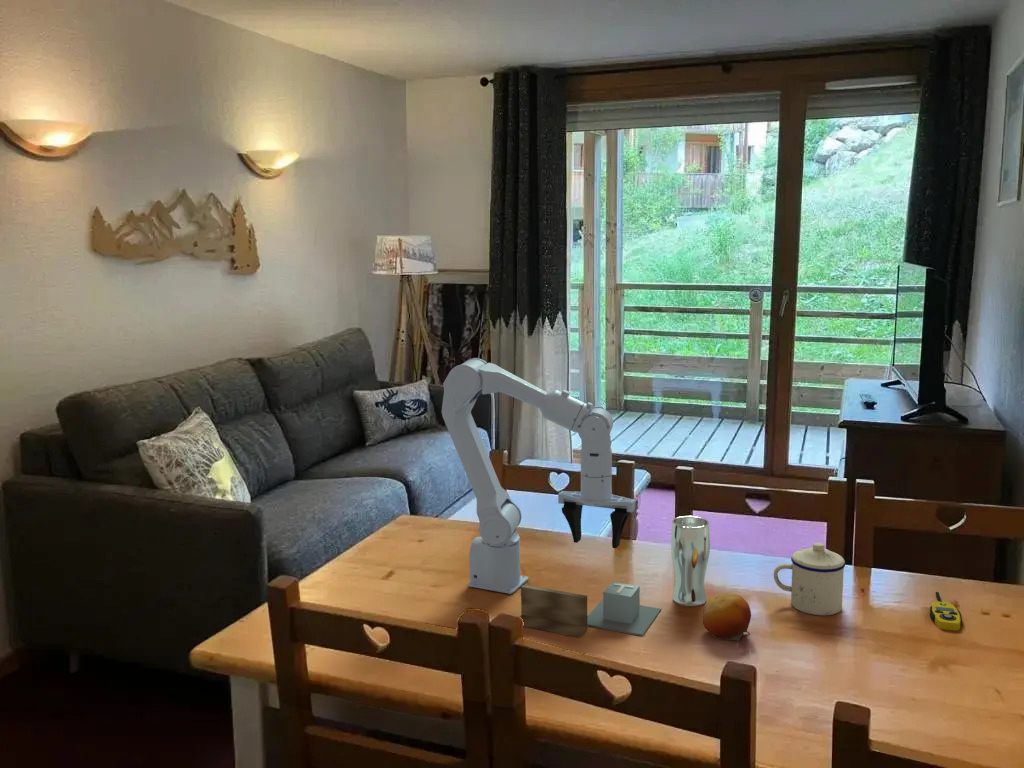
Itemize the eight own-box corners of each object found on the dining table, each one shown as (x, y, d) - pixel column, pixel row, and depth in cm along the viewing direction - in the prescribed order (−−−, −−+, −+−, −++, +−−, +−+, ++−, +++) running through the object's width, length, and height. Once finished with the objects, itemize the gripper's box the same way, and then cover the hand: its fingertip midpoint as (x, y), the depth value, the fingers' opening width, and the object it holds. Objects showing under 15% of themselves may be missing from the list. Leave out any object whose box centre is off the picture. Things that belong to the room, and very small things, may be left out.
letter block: (603, 619, 150) (603, 591, 149) (612, 607, 155) (612, 580, 154) (630, 624, 148) (630, 595, 147) (639, 612, 153) (639, 584, 152)
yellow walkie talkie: (934, 619, 145) (922, 585, 159) (933, 630, 145) (922, 594, 159) (966, 623, 143) (951, 587, 157) (965, 634, 144) (951, 597, 158)
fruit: (754, 643, 138) (729, 598, 139) (712, 657, 142) (689, 612, 143) (768, 623, 145) (744, 580, 146) (728, 637, 149) (705, 595, 150)
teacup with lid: (842, 598, 157) (845, 537, 155) (844, 619, 149) (847, 555, 147) (773, 591, 161) (775, 531, 159) (771, 611, 153) (774, 549, 151)
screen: (515, 624, 150) (514, 592, 148) (523, 616, 153) (523, 584, 152) (580, 637, 144) (579, 603, 143) (587, 628, 147) (587, 595, 146)
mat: (581, 624, 149) (581, 623, 149) (602, 600, 159) (602, 598, 159) (642, 636, 144) (642, 634, 144) (661, 610, 154) (661, 608, 154)
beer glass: (709, 608, 154) (710, 528, 152) (669, 606, 156) (670, 526, 153) (708, 593, 161) (710, 516, 158) (670, 590, 162) (671, 514, 160)
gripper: (551, 475, 159) (552, 545, 161) (627, 483, 152) (626, 556, 155) (565, 465, 165) (566, 533, 167) (639, 473, 159) (638, 543, 161)
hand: (596, 543), depth 161 cm, fingers open, 7 cm apart
